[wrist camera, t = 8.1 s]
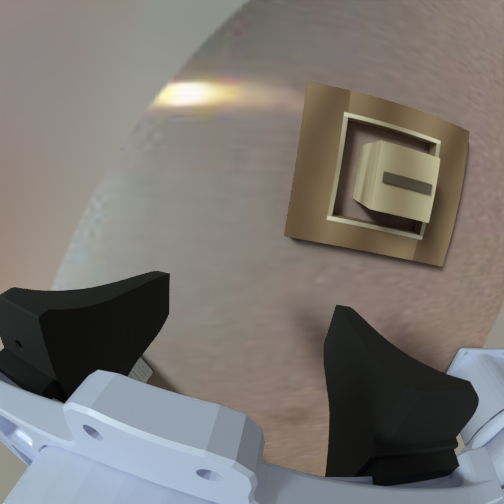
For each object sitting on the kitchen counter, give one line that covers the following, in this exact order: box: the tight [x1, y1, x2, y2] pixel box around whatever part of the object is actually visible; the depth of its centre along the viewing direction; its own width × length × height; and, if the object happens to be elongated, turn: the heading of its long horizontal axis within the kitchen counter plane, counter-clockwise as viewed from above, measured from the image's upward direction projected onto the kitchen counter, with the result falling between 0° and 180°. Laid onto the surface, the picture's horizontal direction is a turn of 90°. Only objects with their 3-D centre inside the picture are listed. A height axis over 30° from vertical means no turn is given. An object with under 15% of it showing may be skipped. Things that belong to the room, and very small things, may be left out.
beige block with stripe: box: [353, 140, 440, 223], centre depth 17 cm, size 4×4×5 cm
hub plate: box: [284, 82, 469, 267], centre depth 18 cm, size 13×11×1 cm
